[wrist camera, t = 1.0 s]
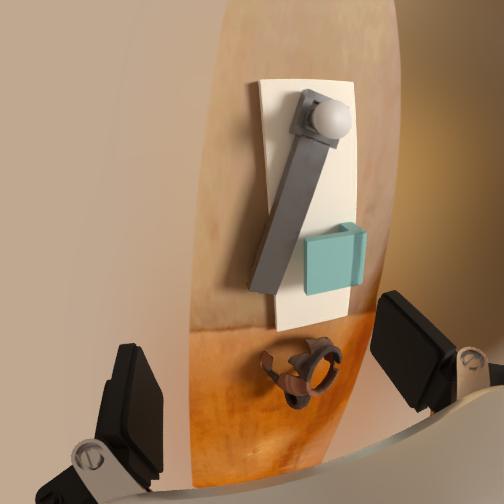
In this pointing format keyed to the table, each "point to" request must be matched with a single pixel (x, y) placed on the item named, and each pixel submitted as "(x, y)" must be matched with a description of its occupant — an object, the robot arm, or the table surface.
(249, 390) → the table surface
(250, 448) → the table surface
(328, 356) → the brown two-tone legged part
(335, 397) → the table surface
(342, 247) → the keeper bracket
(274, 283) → the swing link
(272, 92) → the base plank
